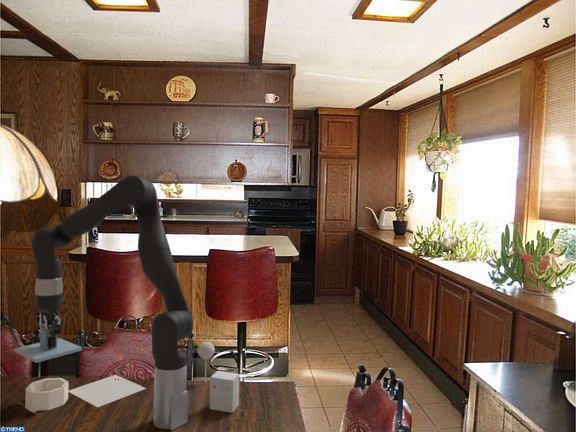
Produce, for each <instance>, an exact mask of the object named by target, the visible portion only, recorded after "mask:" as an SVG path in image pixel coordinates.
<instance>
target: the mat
mask: <svg viewBox="0 0 576 432" xmlns="http://www.w3.org/2000/svg"><path fill="white" fill-rule="evenodd" d="M115 379H116V380H115ZM118 379H119V380H118ZM143 390H144V391H145V390H147V388H146V387H144V386H141V385H140V384H138V383H135V382H133V381H131V380H128V379H126V378H124V377H123V376H122V377H121V376H119V375H117V374H113V375H111V376H108V377H105V378H102V379H99V380H96V381H93V382H90V383H87V384H85V385H81V386H78V387H75V388H73V389H68V393H70V394H71V395H74V396H75V397H78V398H79V399H81V400H82V401H85V402H86V403H89V404H91V406H94V407H96V408H100V407H103V406H105V405H107V404H110V403H113V402H115V401H118V400H121V399H124V398H125V397H128V396H131V395H133V394H136V393H138V392H141V391H143Z"/></svg>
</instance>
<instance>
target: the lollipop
mask: <svg viewBox="0 0 576 432" xmlns="http://www.w3.org/2000/svg"><path fill="white" fill-rule="evenodd" d="M215 350H216V349H215V346H214V345H213V343H212V342H209V341H203V342H201V343H200V344H199V346H198V347H197V353H198V356H199V357H200V358H202V359H204V384H206V383H207V361H208V360H207V359H210V358H212V356H214V354H215V352H216V351H215Z"/></svg>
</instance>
